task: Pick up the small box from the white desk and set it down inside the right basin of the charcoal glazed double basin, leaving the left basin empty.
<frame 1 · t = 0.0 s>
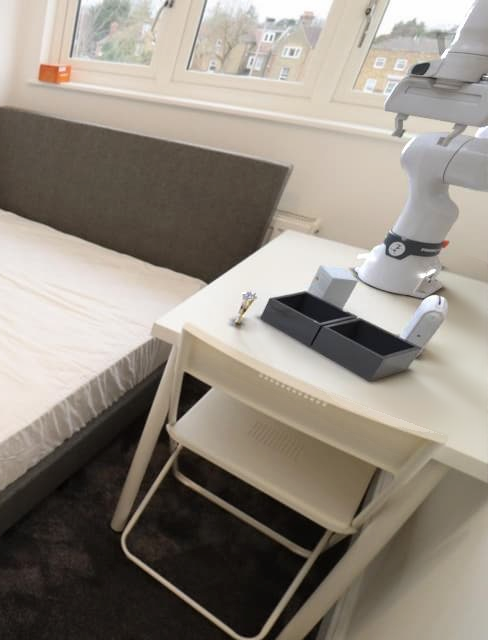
hand: (417, 141, 113), 39 cm above the table, tool pointing down, fingers open, 8 cm apart
ring: (237, 323, 121), on the table
small box: (318, 311, 128), on the table
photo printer: (407, 347, 115), on the table
basin 2: (357, 358, 110), on the table
basin 1: (301, 327, 120), on the table
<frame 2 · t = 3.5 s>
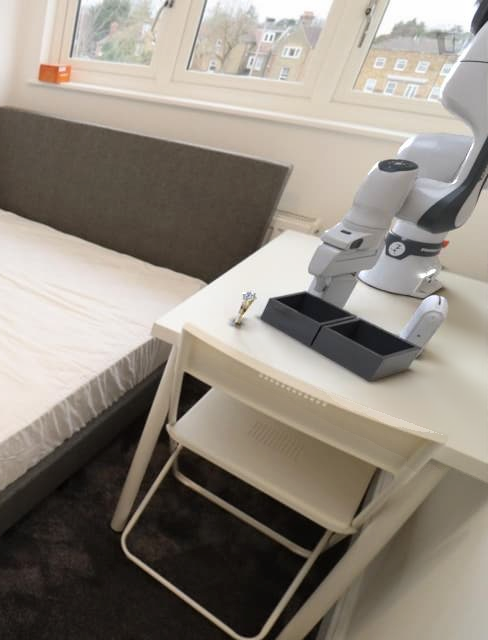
hand: (330, 288, 124), 6 cm above the table, tool pointing down, fingers closed on small box, 8 cm apart
small box: (318, 311, 128), on the table, touching gripper
everything else where it was.
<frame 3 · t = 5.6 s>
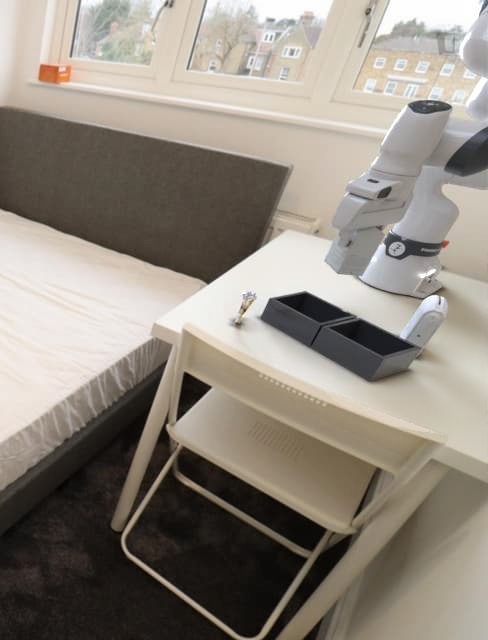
hand: (355, 244, 118), 18 cm above the table, tool pointing down, fingers closed on small box, 8 cm apart
small box: (341, 269, 122), point 11 cm above the table, touching gripper
everything else where it was.
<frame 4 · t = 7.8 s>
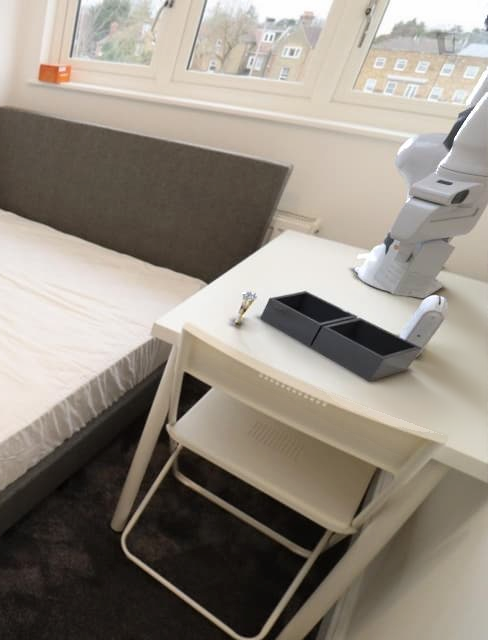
hand: (414, 259, 98), 23 cm above the table, tool pointing down, fingers closed on small box, 8 cm apart
small box: (395, 288, 102), point 16 cm above the table, touching gripper
everything else where it was.
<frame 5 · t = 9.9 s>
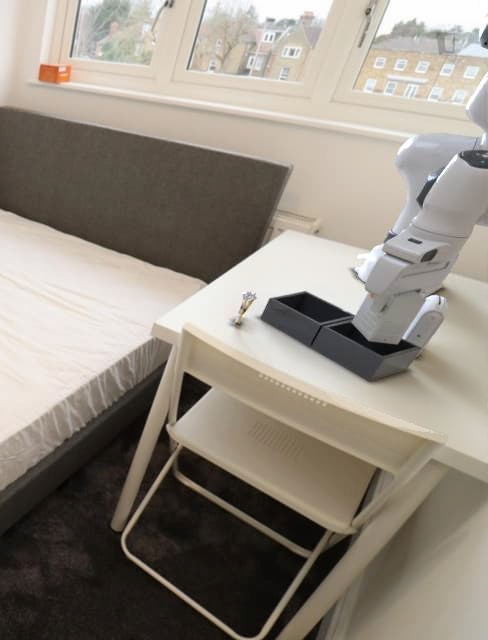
hand: (389, 308, 103), 13 cm above the table, tool pointing down, fingers closed on small box, 8 cm apart
small box: (372, 334, 107), point 6 cm above the table, touching gripper
everything else where it was.
when the fingers open (7 cm above the table, at t = 12.0 s): small box stays where it is, resting on basin 2.
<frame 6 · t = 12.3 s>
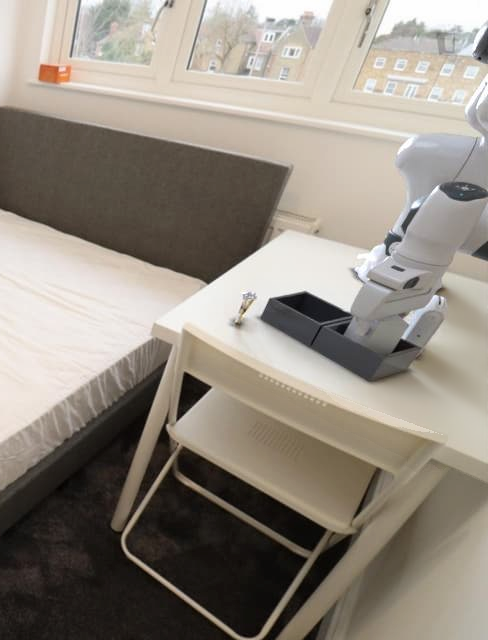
hand: (375, 330, 106), 7 cm above the table, tool pointing down, fingers open, 8 cm apart
small box: (358, 356, 110), resting on basin 2
everything else where it was.
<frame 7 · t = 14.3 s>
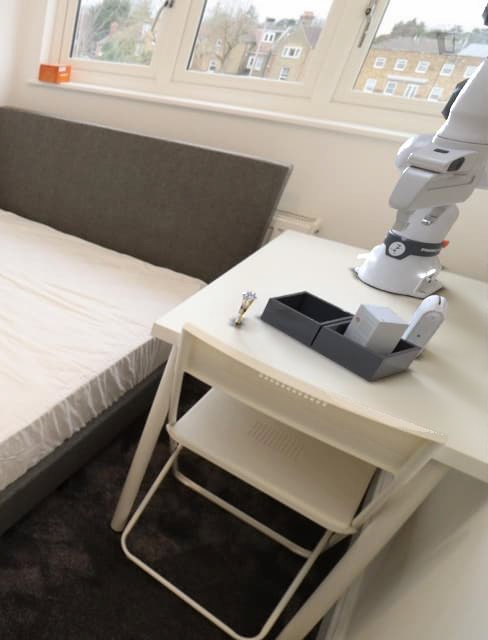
hand: (412, 227, 101), 27 cm above the table, tool pointing down, fingers open, 8 cm apart
nothing on the table moved.
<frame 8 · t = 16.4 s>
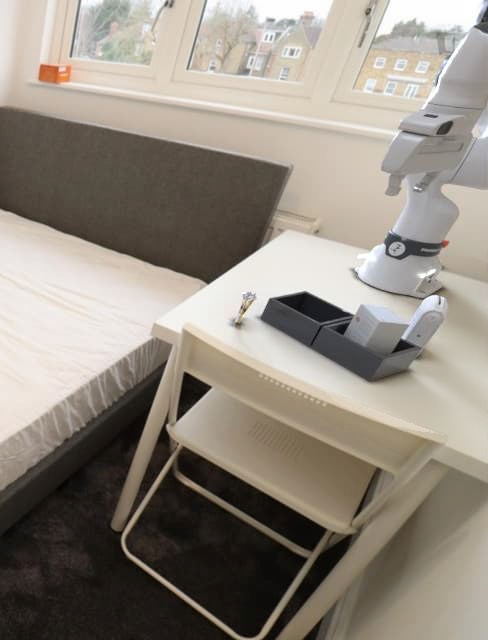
hand: (404, 193, 105), 31 cm above the table, tool pointing down, fingers open, 8 cm apart
nothing on the table moved.
at the end: small box inside the target area in the basin 2 (0.2 cm from its centre), point 0.4 cm above the basin 2's base; small box tilted 0°; the gripper is holding nothing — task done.
